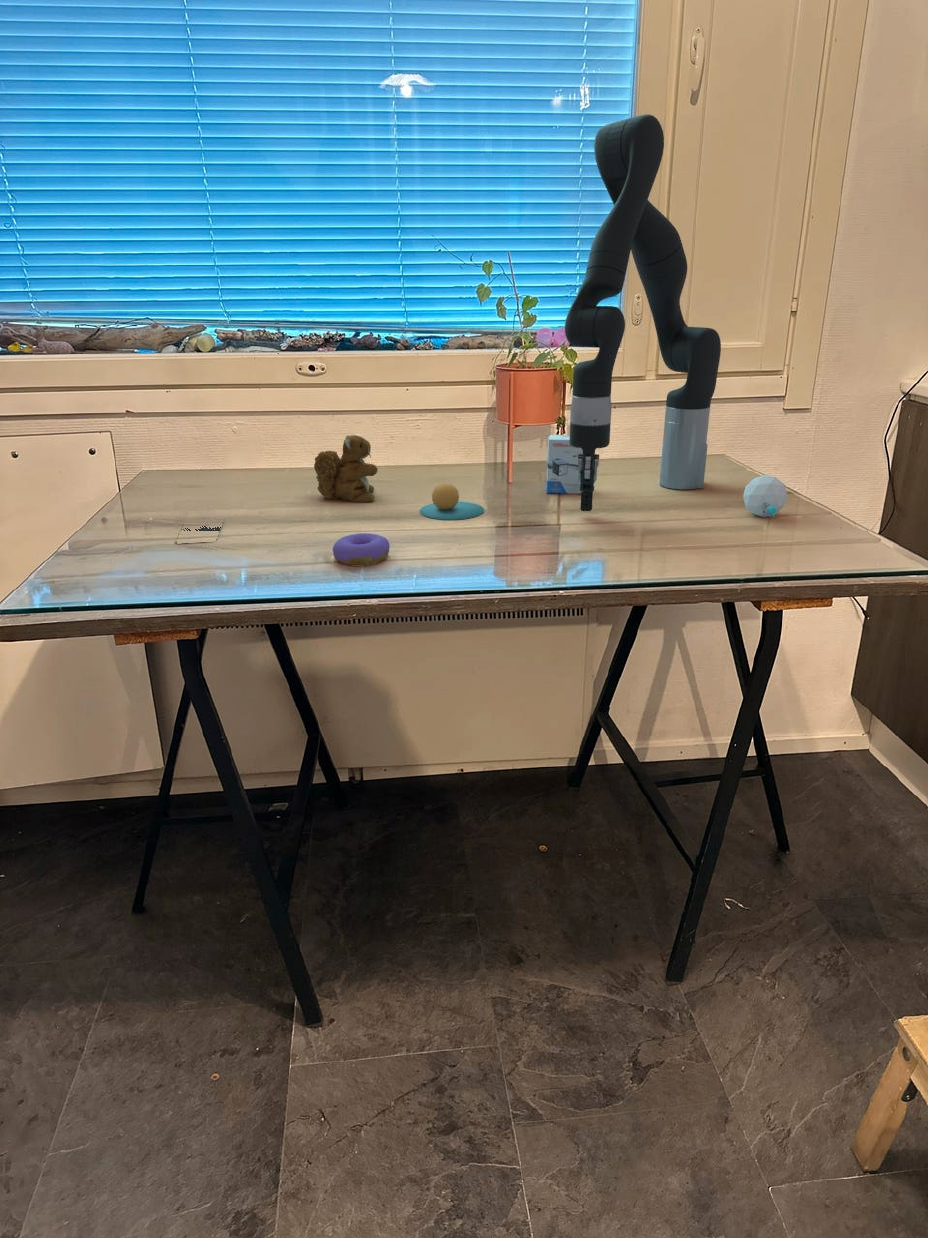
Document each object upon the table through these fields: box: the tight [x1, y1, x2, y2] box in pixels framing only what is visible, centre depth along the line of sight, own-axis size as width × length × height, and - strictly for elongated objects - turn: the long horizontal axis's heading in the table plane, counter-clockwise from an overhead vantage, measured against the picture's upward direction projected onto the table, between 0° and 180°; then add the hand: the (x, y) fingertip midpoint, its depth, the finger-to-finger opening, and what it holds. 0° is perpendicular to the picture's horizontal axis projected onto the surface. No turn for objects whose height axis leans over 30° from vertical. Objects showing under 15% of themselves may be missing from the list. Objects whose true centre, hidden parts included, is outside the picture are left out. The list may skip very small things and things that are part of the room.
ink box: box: [545, 434, 583, 495], centre depth 176 cm, size 9×5×12 cm, turn 84°
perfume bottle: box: [743, 474, 788, 519], centre depth 156 cm, size 8×8×12 cm
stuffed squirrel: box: [313, 434, 379, 503], centre depth 174 cm, size 10×14×13 cm
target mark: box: [419, 500, 485, 521], centre depth 165 cm, size 13×13×1 cm
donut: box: [332, 532, 391, 566], centre depth 138 cm, size 10×9×5 cm
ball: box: [431, 482, 460, 510], centre depth 164 cm, size 6×6×6 cm
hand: (586, 509), depth 159 cm, fingers closed
